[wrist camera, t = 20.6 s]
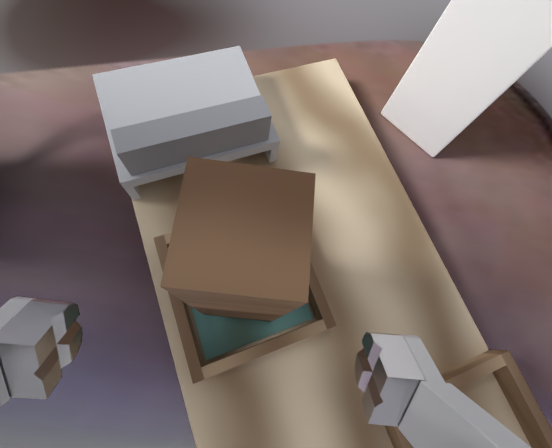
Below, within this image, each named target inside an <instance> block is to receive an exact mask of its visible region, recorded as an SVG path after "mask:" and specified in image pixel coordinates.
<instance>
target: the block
mask: <svg viewBox="0 0 552 448" xmlns="http://www.w3.org/2000/svg"><path fill="white" fill-rule="evenodd" d="M315 177H316V174H315V173H308V172H301V171H293V170H286V169H278V168H271V167H264V166H256V165H249V164H241V163H234V162H227V161H219V160H212V159H204V158H197V157H189V156H188V158H187V162H186V167H185V172H184V177H183V181H182V186H181V191H180V195H179V200H178V205H177V210H176V214H175V219H174V224H173V228H172V233H171V238H170V243H169V247H168V252H167V257H166V261H165V266H164V271H163V275H162V280H161V285H160V287H161V288H163V289H164V290H166V291H168V292H169V293H171V294H172V295H174V296H175V297H177V298H179V299H180V300H182V301H183V302H185V303H186V304H188V305H189V306H191V307H193V308H194V309H196V310H197V311H199V312H200V313H202V314H204V315H213V316H223V317H233V318H242V319H252V320H262V321H271V322H272V321H274V320H276V319H277V318H279V317H281V316H283V315H285V314H287V313H289V312H291V311H293V310H295V309H297V308H299V307H301V306H303V305H305V304H306V303H308V296H309V279H310V262H311V245H312V228H313V211H314V194H315Z"/></svg>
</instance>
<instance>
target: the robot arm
mask: <svg viewBox="0 0 552 448" xmlns="http://www.w3.org/2000/svg"><path fill="white" fill-rule="evenodd" d="M79 315H80V313H79V308H78V305H77V304H75V303H72V302H63V301H55V300H47V299H39V298H36V299H35V298H27V297H19V296H17V297H14V298H11V299H9V300H8V301H7V302H6V303H5V304H4V305H3V306H2V307H0V407H1V406H2V405H3V404H5V403H6V402H8V401H9V400H10V398H26V399H47V398H48V397H49V395H50V394H51V392H52V391H53V389H54V388H55V387H56V385H57V384H58V382H59V381H60V379H61V378H62V372H61V368H63V367H65V366H66V365H68V364H70V363H71V362H72V361H73V360H74V358H75V356H76V355H77V353H78V351H79V348H80V345H81V342H82V327H81V326H80V325H79V324H78V323H77V322H76V321H75V320H76V319H77V317H78V316H79ZM362 344H363V347H364V348H363V349H362V350H360V351H359V352H358V353H357V357H356V360H355V378H356V382H357V386H358V387H359V388H360V389H361V390H362V391H363V392H364V396H363V398H362V404H363V407H364V411H365V414H366V418H367V421H368V424H377V425H386V426H396V427H399V428H398V429H399V430H400V431H401V433H402V434H403V435H404V436H405V437H406V439H407V440H408V441H409V442H410V444H411V445H412V446H413V447H414V448H531V447H530V446H529V445H528V444H526V443H525V442H524V441H523V440H521V439H520V438H519V437H518V436H516V435H515V434H514V433H513V432H511V431H510V430H509V429H507V428H506V427H505V426H504V425H502V424H501V423H500V422H499V421H497V420H496V419H495V418H494V417H492V416H491V415H490V414H489V413H487V412H486V411H485V410H484V409H482V408H481V407H480V406H479V405H477V404H476V403H475V402H474V401H472V400H471V399H470V398H469V397H467V396H466V395H465V394H464V393H462V392H461V391H460V390H458V389H457V388H456V387H455V386H453V385H452V384H451V383H445V381H444V379H443V377H442V376H441V374H440V372H439V370H438V369H437V367H436V365H435V363H434V362H433V360H432V358H431V356H430V355H429V353H428V351H427V349H426V348H425V346H424V344H423V342H422V340H421V339H420V338H419V337H418V336H416V335H403V334H400V335H399V334H389V333H378V332H366V333H365V334H364V336H363V339H362Z"/></svg>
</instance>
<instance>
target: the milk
mask: <svg viewBox="0 0 552 448" xmlns="http://www.w3.org/2000/svg"><path fill="white" fill-rule="evenodd" d="M551 48H552V0H451V1H450V3H449V4H448V6H447V8H446V9H445V11H444V12H443V14H442V15H441V17H440V19H439V20H438V22H437V23H436V25H435V27H434V28H433V30H432V32H431V33H430V35H429V36H428V38H427V40H426V41H425V43H424V44H423V46H422V47H421V49H420V51H419V52H418V54H417V55H416V57H415V59H414V60H413V62H412V63H411V65H410V67H409V68H408V70H407V71H406V73H405V75H404V76H403V78H402V79H401V81H400V83H399V84H398V86H397V87H396V89H395V91H394V92H393V94H392V95H391V97H390V99H389V100H388V102H387V103H386V105H385V107H384V108H383V110H382V112H381V115H383V116H384V117H385V118H386V119H387V120H389V121H390V122H391V123H392V124H393V125H394V126H396V127H397V128H398V129H399V130H400V131H402V132H403V133H404V134H405V135H406V136H408V137H409V138H410V139H411V140H412V141H413V142H415V143H416V144H417V145H418V146H419V147H421V148H422V149H423V150H424V151H425V152H426V153H428V154H429V155H430V156H431V157H435V156H436V155H437V154H438V153H439V152H440V151H441V150H442V149H444V148H445V147H446V146H447V145H448V144H449V143H450V142H451V141H452V140H453V139H454V138H455V137H456V136H458V135H459V134H460V133H461V132H462V131H463V130H464V129H465V128H466V127H467V126H468V125H469V124H470V123H471V122H473V121H474V120H475V119H476V118H477V117H478V116H479V115H480V114H481V113H482V112H483V111H484V110H485V109H487V108H488V107H489V106H490V105H491V104H492V103H493V102H494V101H495V100H496V99H497V98H498V97H499V96H501V95H502V94H503V93H504V92H505V91H506V90H507V89H508V88H509V87H510V86H511V85H512V84H513V83H514V82H516V81H517V80H518V79H519V78H520V77H521V76H522V75H523V74H524V73H525V72H526V71H527V70H528V69H530V68H531V67H532V66H533V65H534V64H535V63H536V62H537V61H538V60H539V59H540V58H541V57H542V56H543V55H544V54H546V53H547V52H548V51H549V50H550V49H551Z"/></svg>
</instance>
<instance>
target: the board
mask: <svg viewBox="0 0 552 448" xmlns="http://www.w3.org/2000/svg"><path fill="white" fill-rule="evenodd" d="M253 78H254V81H255V83H256V85H257V88H258V90H259V92H260V95H263V96H264V99H265V101H266V103H267V106H268V108H269V110H270V113H271V115H272V118H271V121H272V123H273V125H274V128H275V130H276V132H277V135H278V137H279V139H280V144H279V149H278V153H277V158H276V161H274V162H270V163H269V161H268V158H267V156H266V153H265V151H264V152H261V153H257V154H253V155H250V156H246V157H242V158H238V159H235V160H231V161H227V162H234V163H241V164H249V165H256V166H264V167H271V168H278V169H286V170H293V171H301V172H308V173H315V174H316V177H315V194H314V211H313V228H312V245H311V262H310V279H309V296H308V303H306V304H305V305H303V306H301V307H299V308H297V309H295V310H293V311H291V312H289V313H287V314H285V315H283V316H281V317H279V318H277V319H276V320H274V321H272V322H271V321H262V320H252V319H242V318H233V317H223V316H213V315H204V314H202V313H200V312H199V311H197V310H196V309H194V308H193V307H191V306H189V305H188V304H186V303H185V302H183V301H182V300H180V299H179V298H177V297H175V296H174V295H172V294H171V293H169V292H168V291H166V290H164V289H163V288H161V287H160V285H161V280H162V275H163V271H164V266H165V261H166V257H167V252H168V247H169V243H170V238H171V233H172V228H173V224H174V219H175V214H176V210H177V205H178V200H179V195H180V191H181V186H182V181H183V177H184V173H183V174H179V175H175V176H172V177H168V178H164V179H161V180H157V181H153V182H149V183H146V184H142V185H138V188H139V192H140V196H141V199H137V200H134V201H133V200H132V202H133V206H134V210H135V214H136V218H137V222H138V226H139V229H140V233H141V237H142V241H143V245H144V249H145V253H146V256H147V260H148V264H149V268H150V272H151V276H152V279H153V283H154V287H155V291H156V295H157V299H158V303H159V306H160V310H161V314H162V318H163V322H164V326H165V330H166V333H167V337H168V341H169V345H170V349H171V353H172V356H173V360H174V364H175V368H176V372H177V376H178V380H179V383H180V387H181V391H182V395H183V399H184V403H185V406H186V410H187V414H188V418H189V422H190V426H191V430H192V433H193V437H194V441H195V445H196V448H414V447H413V446H412V445H411V444H410V442H409V441H408V440H407V439H406V437H405V436H404V435H403V434H402V433H401V431H400V430H399V429H398V428H399V427H396V426H386V425H377V424H368V421H367V418H366V414H365V411H364V407H363V404H362V398H363V396H364V392H363V391H362V390H361V389H360V388H359V387H358V386H357V382H356V378H355V360H356V357H357V353H358V352H359V351H360V350H362V349H363V348H364V347H363V344H362V339H363V336H364V334H365V333H366V332H378V333H389V334H399V335H400V334H403V335H416V336H418V337H419V338H420V339H421V340H422V342H423V344H424V346H425V348H426V349H427V351H428V353H429V355H430V356H431V358H432V360H433V362H434V363H435V365H436V367H437V369H438V370H439V372H440V374H441V376H442V377H443V379H444V381H445V383H451V384H452V385H453V386H455V387H456V388H457V389H458V390H460V391H461V392H462V393H464V394H465V395H466V396H467V397H469V398H470V399H471V400H472V401H474V402H475V403H476V404H477V405H479V406H480V407H481V408H482V409H484V410H485V411H486V412H487V413H489V414H490V415H491V416H492V417H494V418H495V419H496V420H497V421H499V422H500V423H501V424H502V425H504V426H505V427H506V428H507V429H509V430H510V431H511V432H513V433H514V434H515V435H516V436H518V437H519V438H520V439H521V440H523V441H524V442H525V443H526V444H528V445H529V446H530V447H531V448H552V429H551V427H550V425H549V423H548V421H547V420H546V418H545V416H544V414H543V412H542V410H541V408H540V407H539V405H538V403H537V401H536V399H535V397H534V396H533V394H532V392H531V390H530V388H529V386H528V385H527V383H526V381H525V379H524V377H523V375H522V373H521V372H520V370H519V368H518V366H517V364H516V362H515V361H514V359H513V357H512V355H511V353H510V351H509V350H489V349H488V347H487V345H486V343H485V342H484V340H483V338H482V336H481V334H480V332H479V330H478V328H477V326H476V324H475V323H474V321H473V319H472V317H471V315H470V313H469V311H468V309H467V307H466V305H465V304H464V302H463V300H462V298H461V296H460V294H459V292H458V290H457V288H456V286H455V285H454V283H453V281H452V279H451V277H450V275H449V273H448V271H447V269H446V267H445V266H444V264H443V262H442V260H441V258H440V256H439V254H438V252H437V250H436V248H435V247H434V245H433V243H432V241H431V239H430V237H429V235H428V233H427V231H426V229H425V228H424V226H423V224H422V222H421V220H420V218H419V216H418V214H417V212H416V210H415V209H414V207H413V205H412V203H411V201H410V199H409V197H408V195H407V193H406V191H405V190H404V188H403V186H402V184H401V182H400V180H399V178H398V176H397V174H396V172H395V171H394V169H393V167H392V165H391V163H390V161H389V159H388V157H387V155H386V153H385V152H384V150H383V148H382V146H381V144H380V142H379V140H378V138H377V136H376V134H375V133H374V131H373V129H372V127H371V125H370V123H369V121H368V119H367V117H366V115H365V114H364V112H363V110H362V108H361V106H360V104H359V102H358V100H357V98H356V96H355V95H354V93H353V91H352V89H351V87H350V85H349V83H348V81H347V79H346V77H345V76H344V74H343V72H342V70H341V68H340V66H339V64H338V62H337V60H336V58H335V59H331V60H326V61H322V62H317V63H312V64H308V65H303V66H299V67H294V68H289V69H285V70H280V71H276V72H271V73H266V74H262V75H257V76H253ZM131 199H132V198H131Z"/></svg>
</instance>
